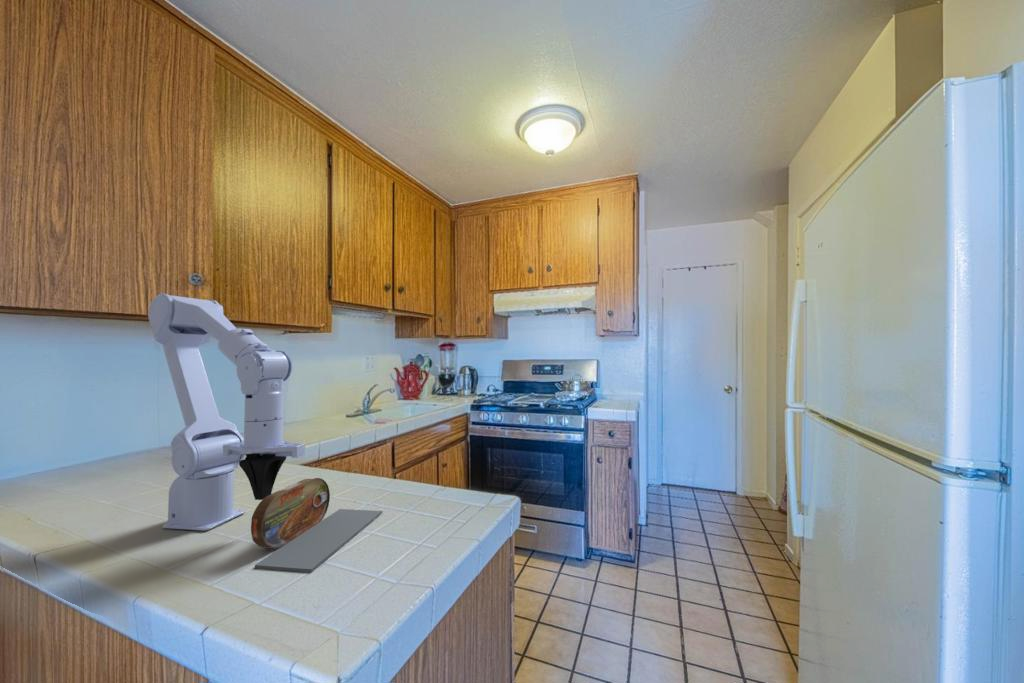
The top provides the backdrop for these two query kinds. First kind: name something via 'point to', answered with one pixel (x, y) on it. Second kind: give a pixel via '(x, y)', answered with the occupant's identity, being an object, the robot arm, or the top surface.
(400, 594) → the top surface
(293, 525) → the tin
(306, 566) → the rubber mat
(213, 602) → the top surface
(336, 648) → the top surface
